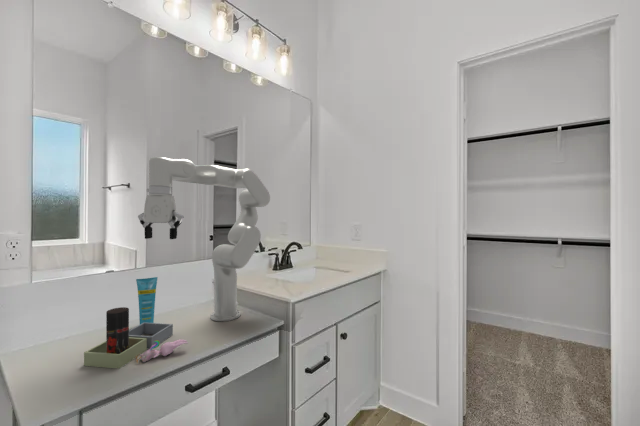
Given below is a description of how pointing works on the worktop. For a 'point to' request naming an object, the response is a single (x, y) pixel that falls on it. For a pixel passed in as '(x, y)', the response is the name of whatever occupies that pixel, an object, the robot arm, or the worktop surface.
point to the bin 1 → (108, 360)
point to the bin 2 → (152, 332)
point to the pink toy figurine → (164, 350)
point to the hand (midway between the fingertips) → (160, 238)
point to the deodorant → (117, 330)
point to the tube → (146, 299)
